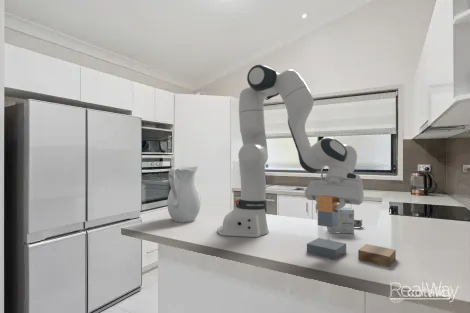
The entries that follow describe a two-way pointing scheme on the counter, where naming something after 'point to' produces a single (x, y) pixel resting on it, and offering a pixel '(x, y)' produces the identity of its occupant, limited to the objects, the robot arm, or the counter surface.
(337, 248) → the stand
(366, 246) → the stand
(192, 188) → the pitcher
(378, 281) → the counter surface
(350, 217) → the light bulb box
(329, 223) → the orange and blue block
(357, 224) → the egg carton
